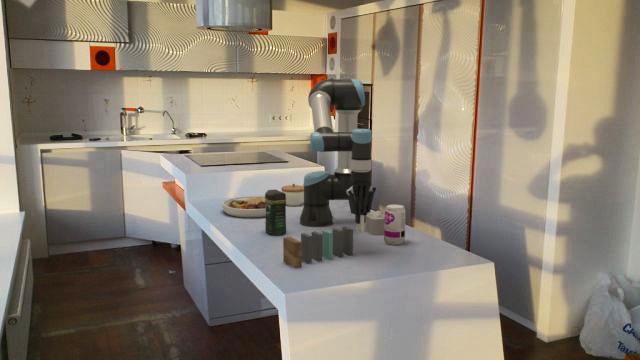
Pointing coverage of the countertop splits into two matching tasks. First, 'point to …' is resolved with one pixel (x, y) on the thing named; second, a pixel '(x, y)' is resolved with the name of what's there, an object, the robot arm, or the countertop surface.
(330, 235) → the domino
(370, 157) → the robot arm
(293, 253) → the end block
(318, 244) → the domino
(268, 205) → the coffee jar
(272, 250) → the countertop surface
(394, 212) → the supplement can
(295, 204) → the lidded bowl
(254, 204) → the bowl
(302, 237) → the domino
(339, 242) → the domino
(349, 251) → the domino
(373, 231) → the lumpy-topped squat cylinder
